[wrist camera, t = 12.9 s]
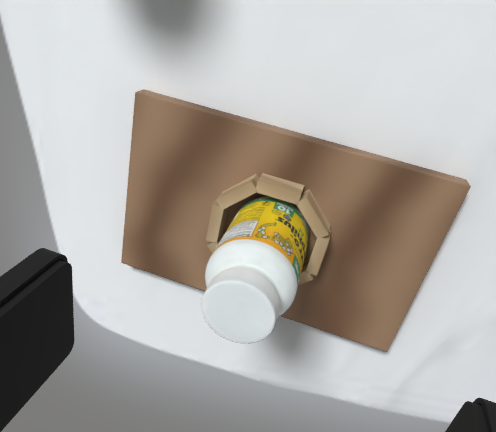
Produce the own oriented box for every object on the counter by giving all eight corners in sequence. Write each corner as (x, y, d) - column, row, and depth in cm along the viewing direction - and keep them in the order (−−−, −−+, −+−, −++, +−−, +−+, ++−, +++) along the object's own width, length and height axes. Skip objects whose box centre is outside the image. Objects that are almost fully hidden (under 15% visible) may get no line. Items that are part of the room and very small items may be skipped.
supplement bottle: (223, 208, 30) (168, 284, 22) (290, 182, 28) (259, 254, 20) (256, 270, 32) (217, 362, 24) (322, 249, 30) (305, 342, 22)
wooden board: (466, 179, 27) (476, 196, 24) (386, 341, 33) (388, 366, 31) (143, 89, 29) (124, 96, 27) (128, 255, 36) (111, 272, 34)
